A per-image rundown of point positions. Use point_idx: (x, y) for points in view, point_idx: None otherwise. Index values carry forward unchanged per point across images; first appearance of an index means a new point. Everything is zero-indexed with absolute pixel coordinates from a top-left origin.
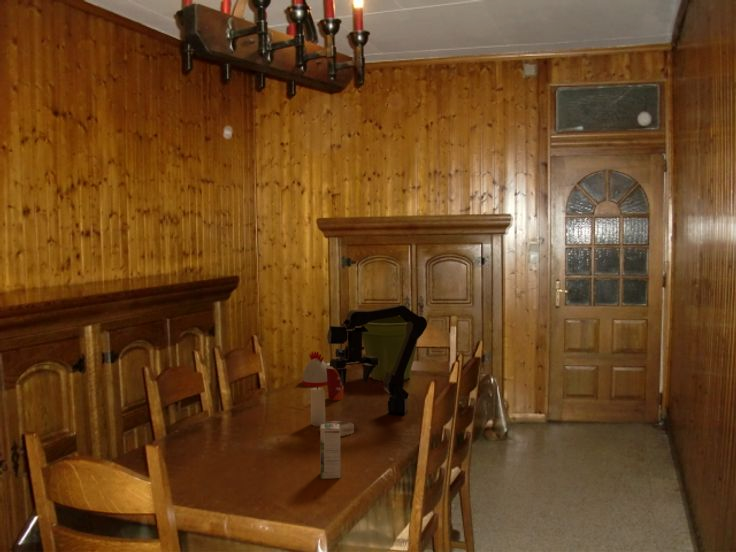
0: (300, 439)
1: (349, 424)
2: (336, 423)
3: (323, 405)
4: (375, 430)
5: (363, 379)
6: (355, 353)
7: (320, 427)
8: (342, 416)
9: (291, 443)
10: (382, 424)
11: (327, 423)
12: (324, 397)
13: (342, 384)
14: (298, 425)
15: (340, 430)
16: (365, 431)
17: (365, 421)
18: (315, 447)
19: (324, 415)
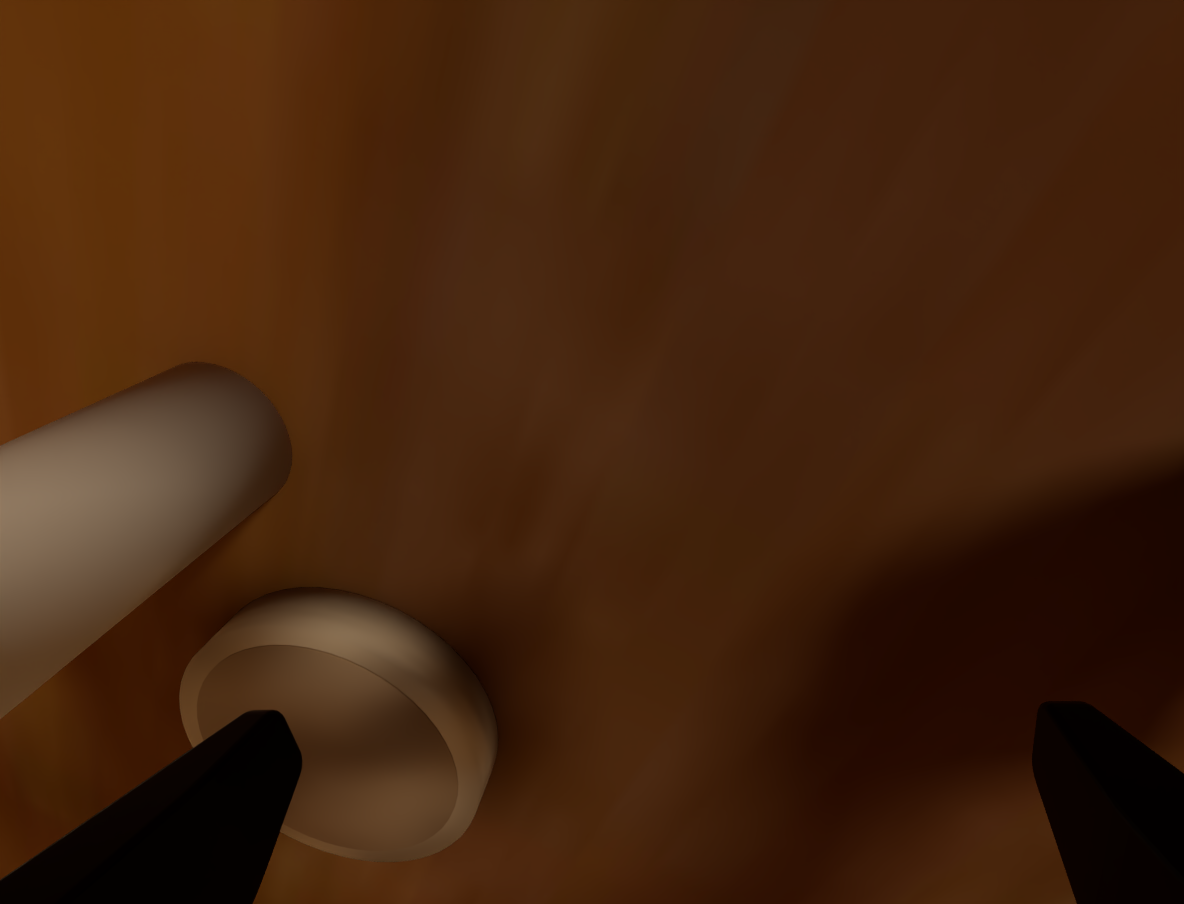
0: (75, 716)
1: (436, 797)
2: (330, 716)
3: (98, 637)
4: (671, 839)
5: (1107, 838)
6: None
7: (184, 722)
8: (563, 246)
9: (24, 749)
10: (834, 753)
11: (249, 677)
12: (11, 705)
13: (234, 740)
14: (26, 370)
15: (332, 849)
16: (580, 816)
17: (731, 588)
18: None
19: (211, 544)
